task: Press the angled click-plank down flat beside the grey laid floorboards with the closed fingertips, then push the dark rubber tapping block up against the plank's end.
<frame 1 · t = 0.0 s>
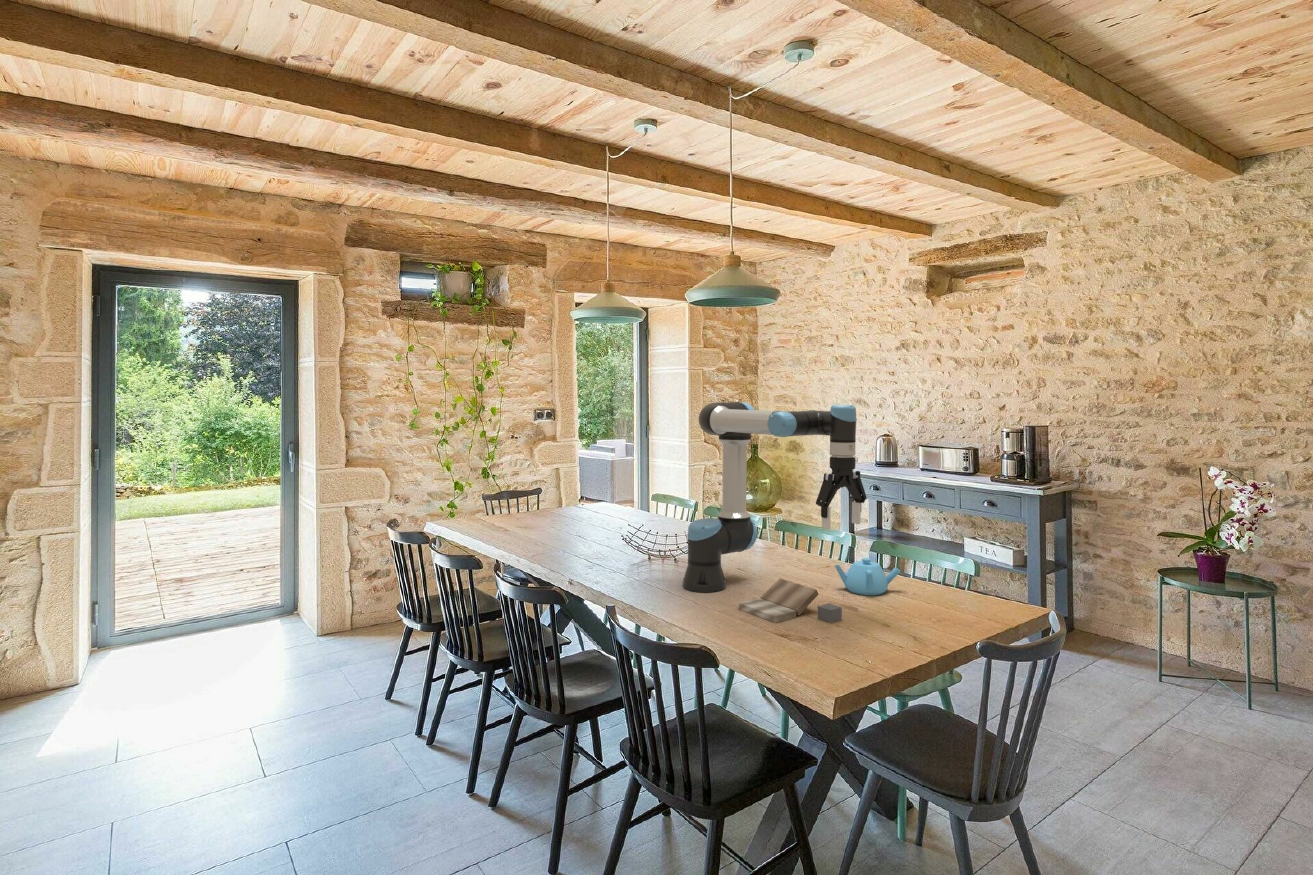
hand: (841, 526, 212), 28 cm above the table, fingers open, 13 cm apart
laid floor rows: (767, 613, 217), on the table
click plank: (788, 595, 222), point 4 cm above the table, hinge at 30.0°
tapping block: (829, 619, 211), on the table
teapot: (866, 591, 241), on the table
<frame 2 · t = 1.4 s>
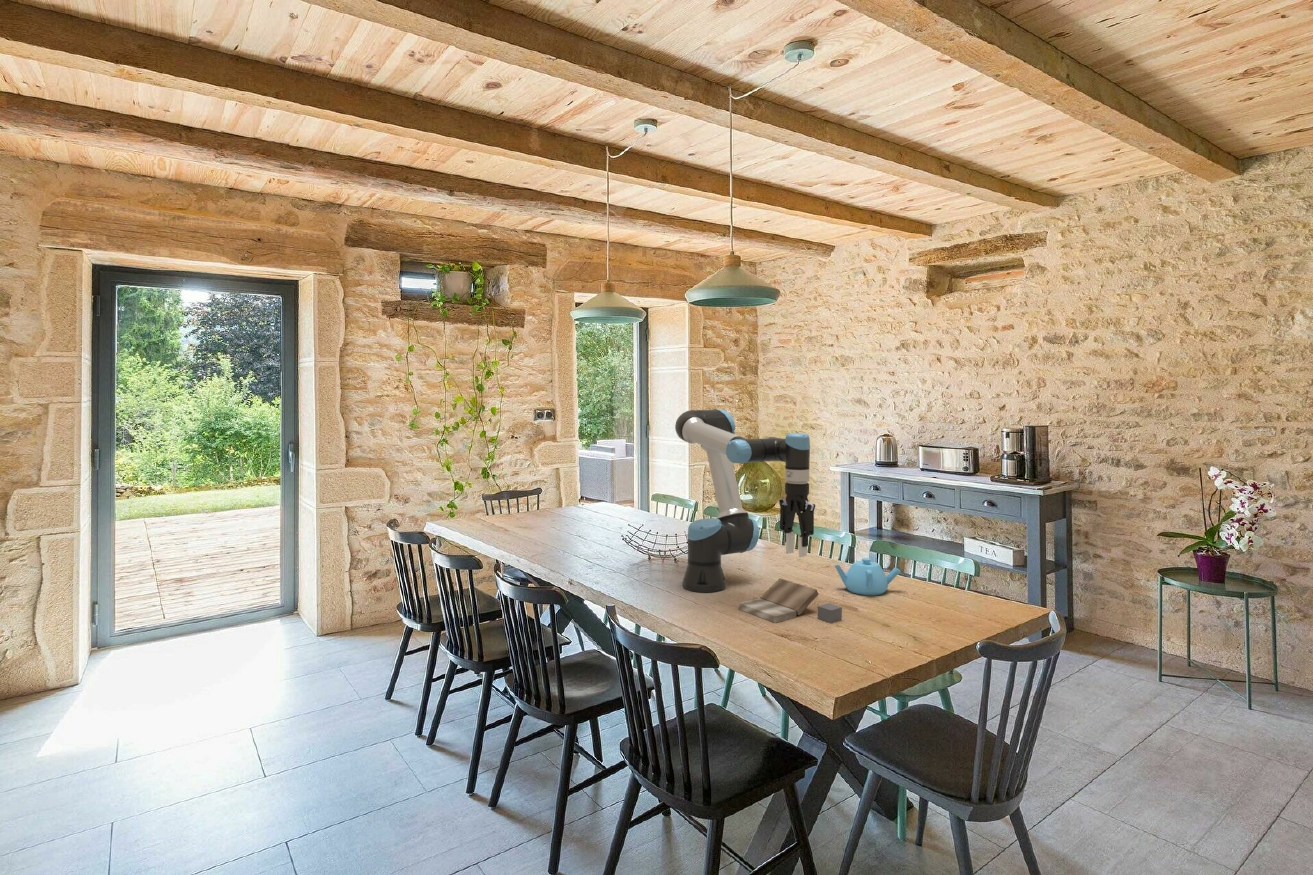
hand: (796, 554, 223), 17 cm above the table, fingers open, 5 cm apart
nothing on the table moved.
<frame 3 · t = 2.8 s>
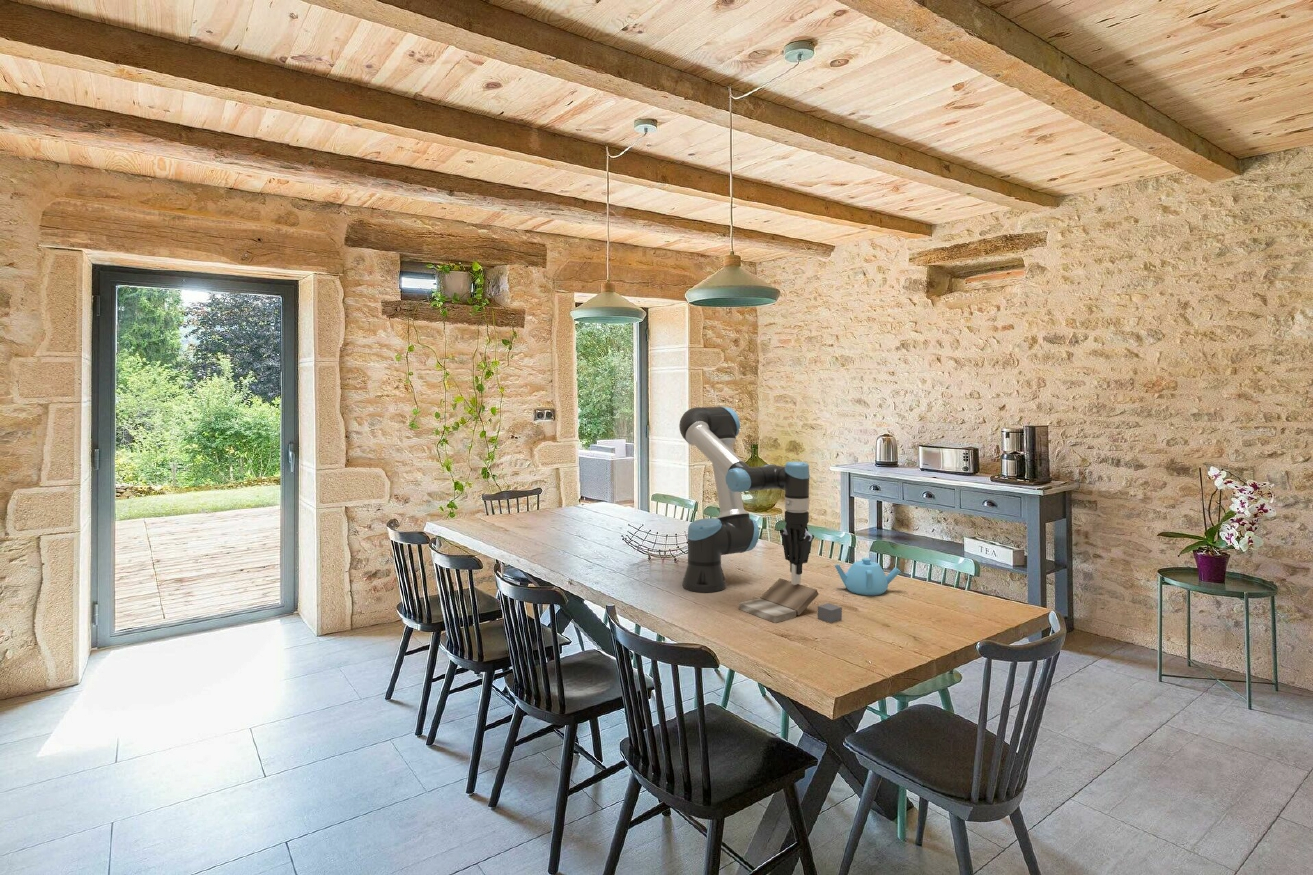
hand: (796, 583, 223), 7 cm above the table, fingers closed
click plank: (788, 595, 222), point 4 cm above the table, hinge at 29.9°, touching gripper
everything else where it was.
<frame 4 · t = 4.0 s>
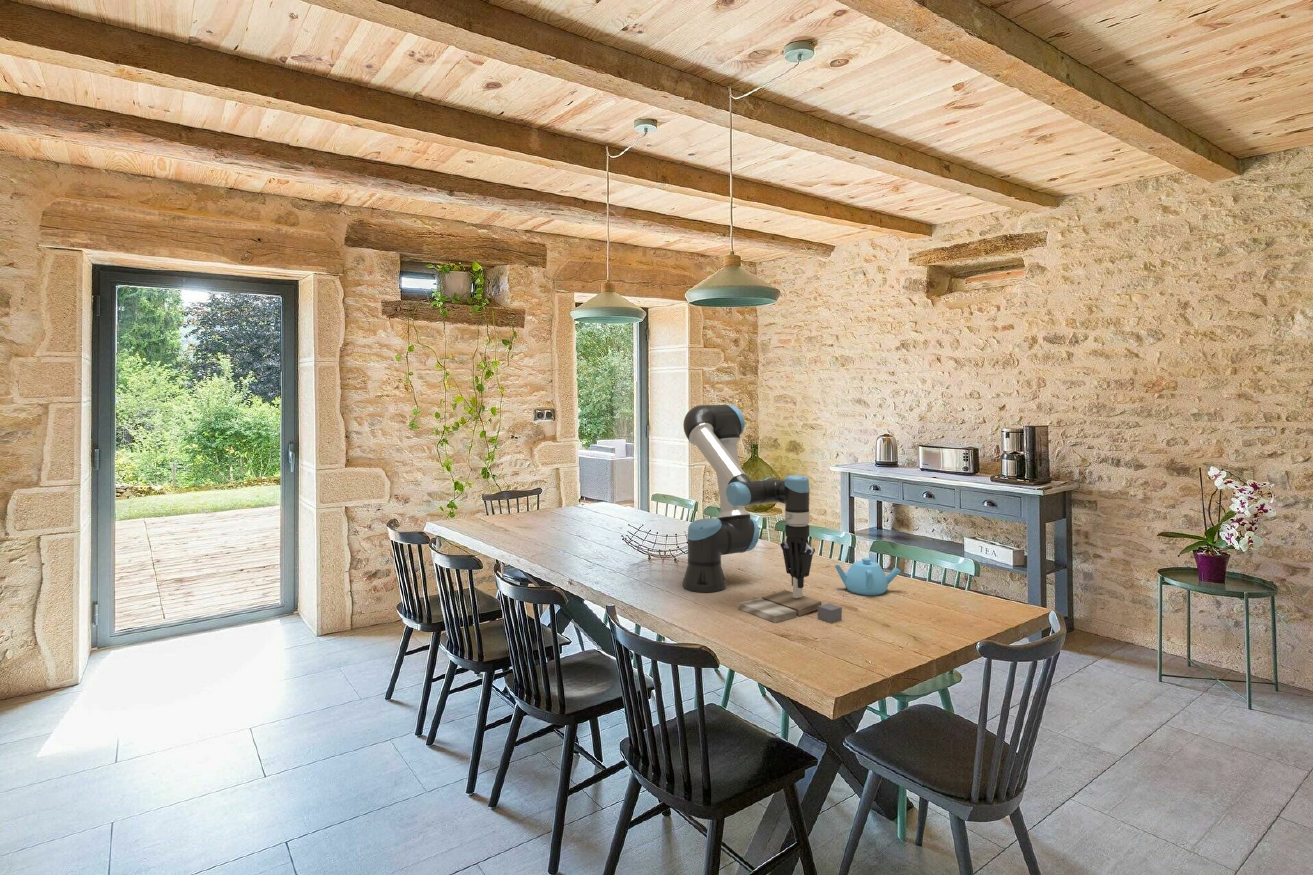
hand: (797, 596, 224), 3 cm above the table, fingers closed
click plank: (791, 602, 223), point 1 cm above the table, hinge at 4.7°, touching gripper
everything else where it was.
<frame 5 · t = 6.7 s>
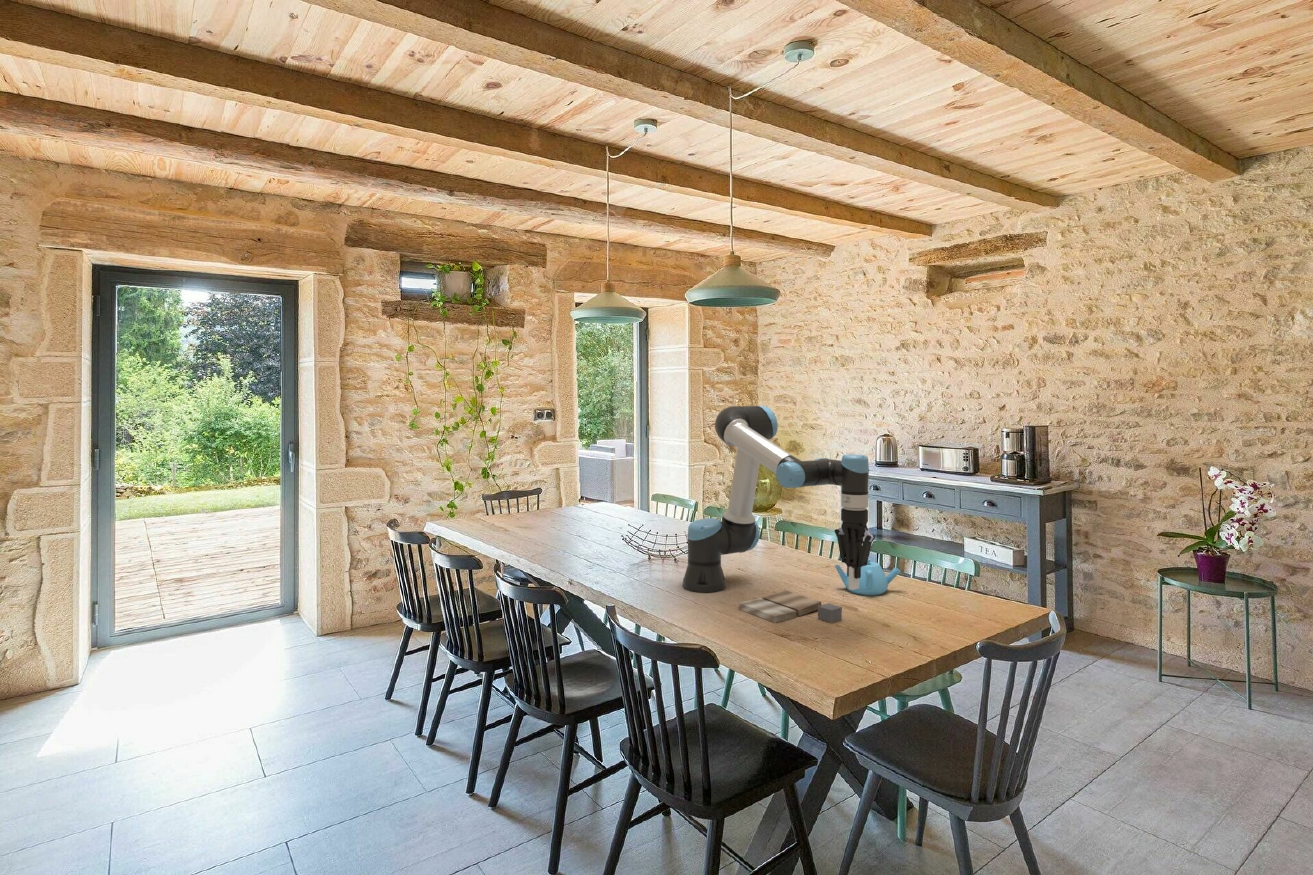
hand: (853, 588, 203), 11 cm above the table, fingers closed
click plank: (791, 602, 223), point 1 cm above the table, hinge at 4.7°
everything else where it was.
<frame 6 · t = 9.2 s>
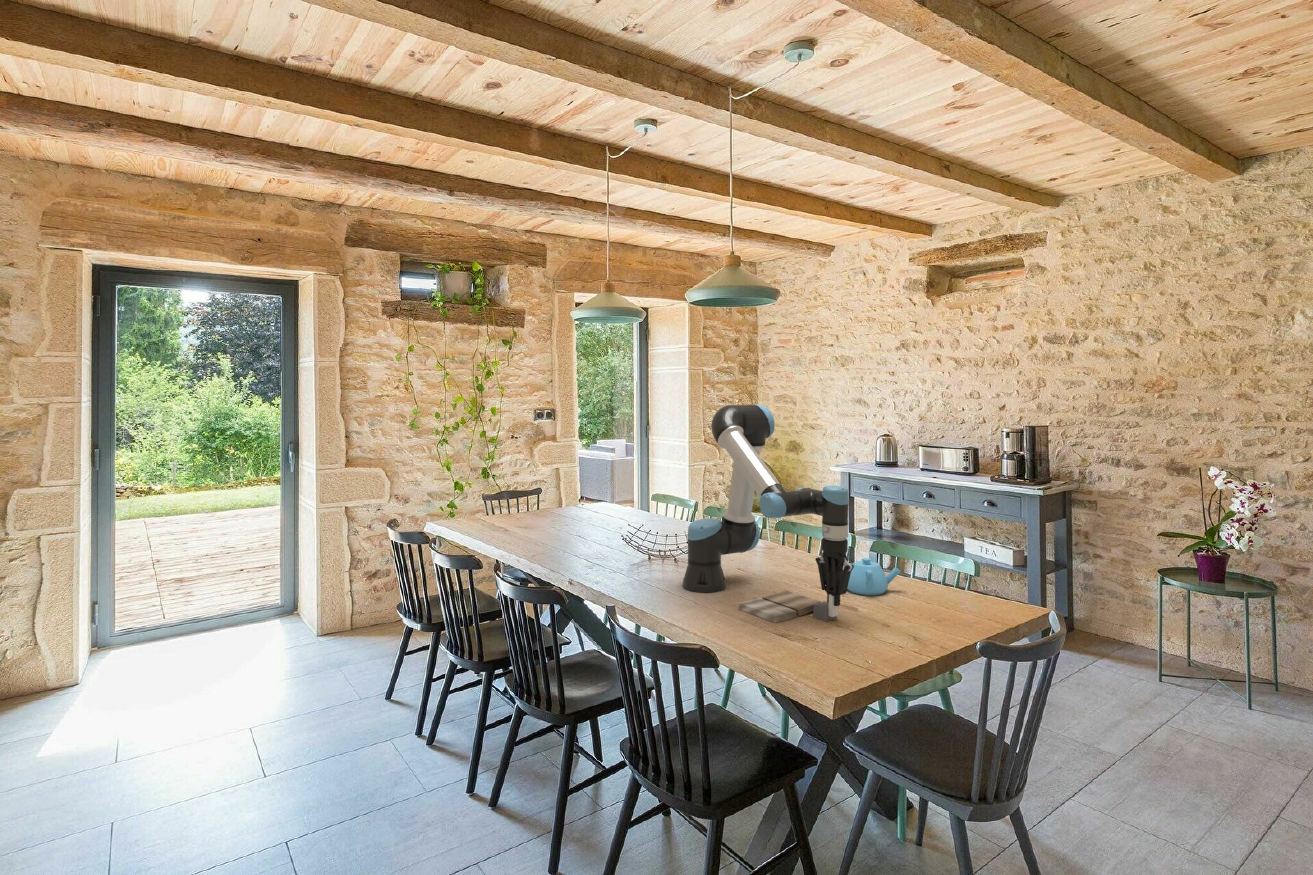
hand: (833, 615, 210), 2 cm above the table, fingers closed
tapping block: (825, 617, 213), on the table
everything else where it was.
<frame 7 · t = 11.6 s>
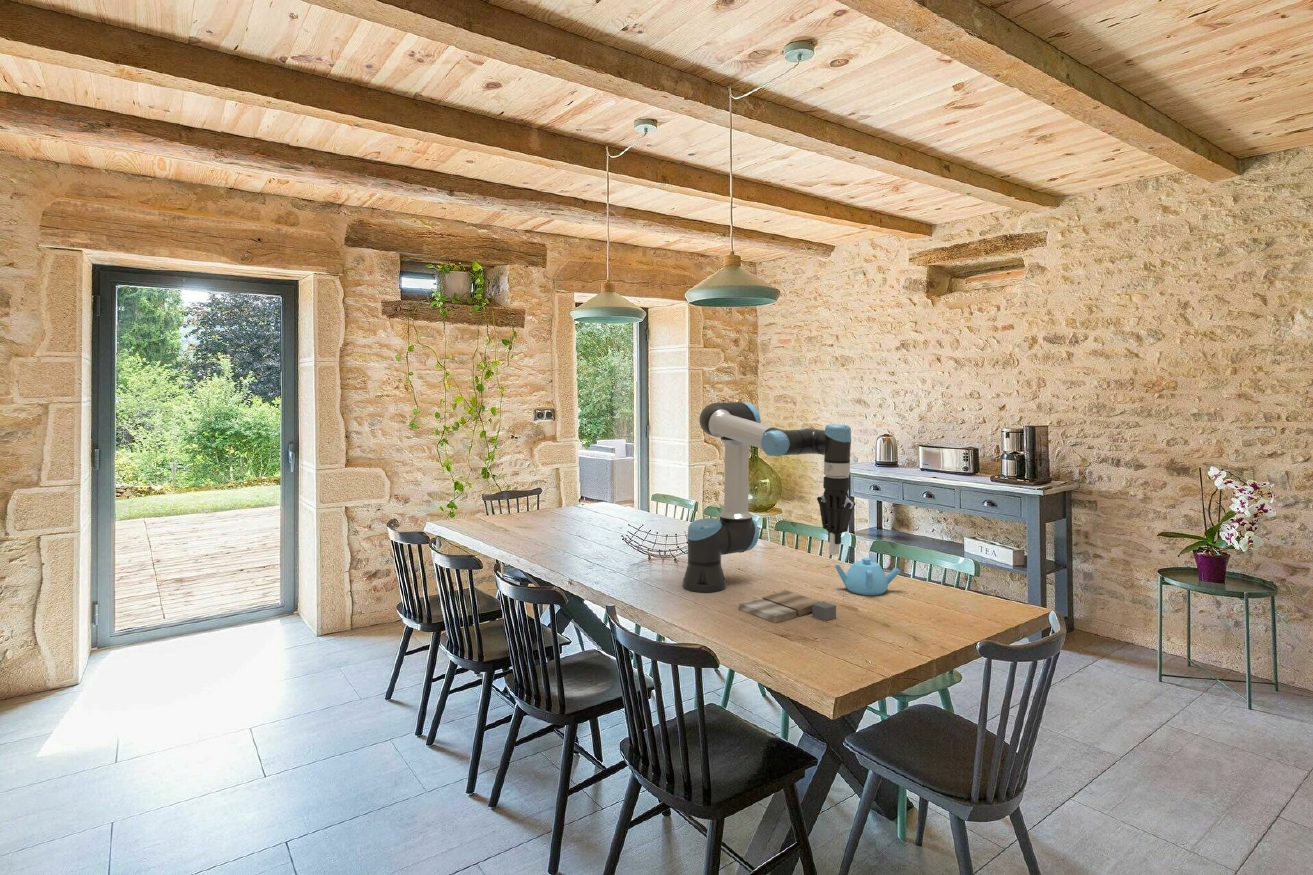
hand: (834, 553, 210), 20 cm above the table, fingers closed
nothing on the table moved.
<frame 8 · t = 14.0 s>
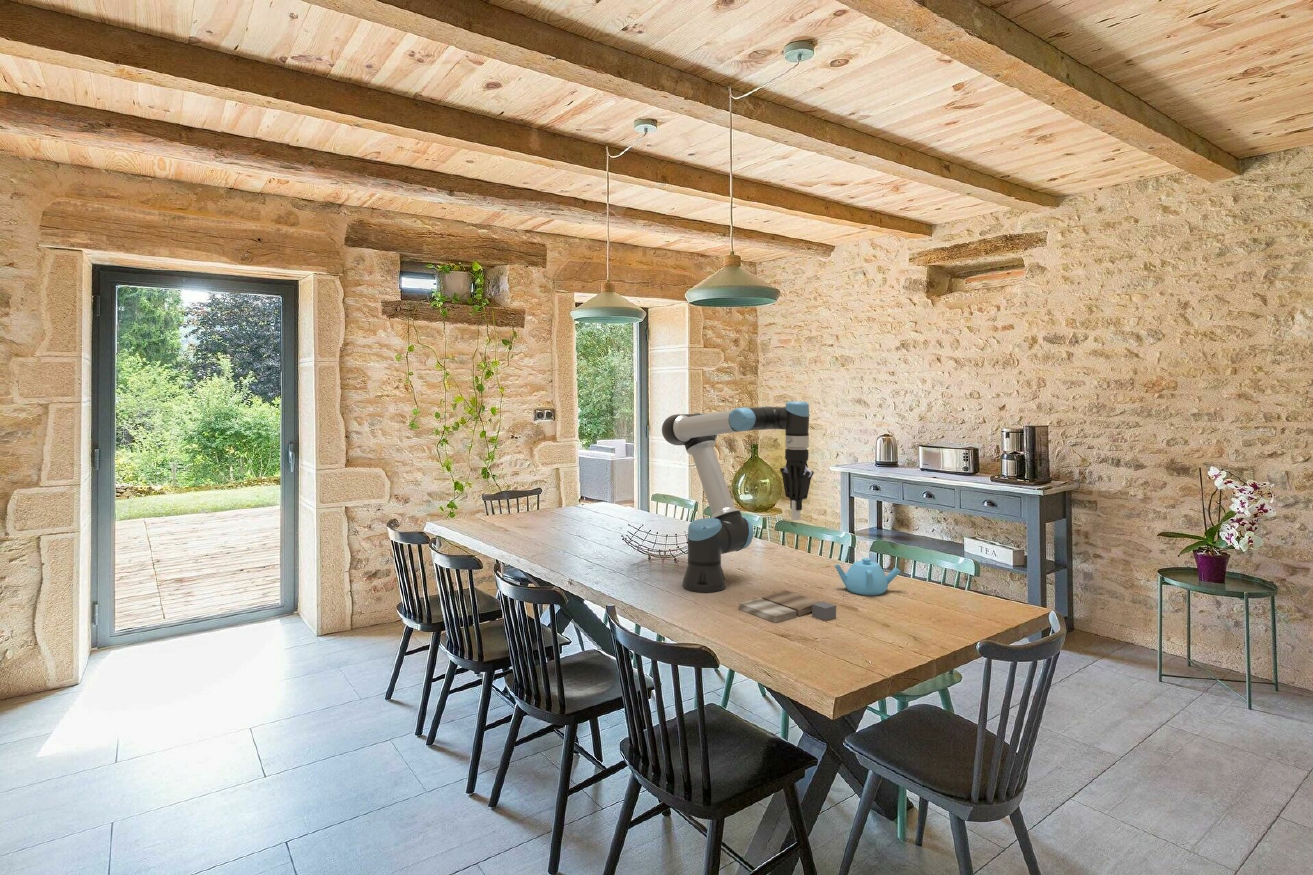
hand: (795, 519, 230), 26 cm above the table, fingers closed
nothing on the table moved.
at the end: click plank at +5° (first picture: +30°); tapping block 1.2 cm from the target spot, on the table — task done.
